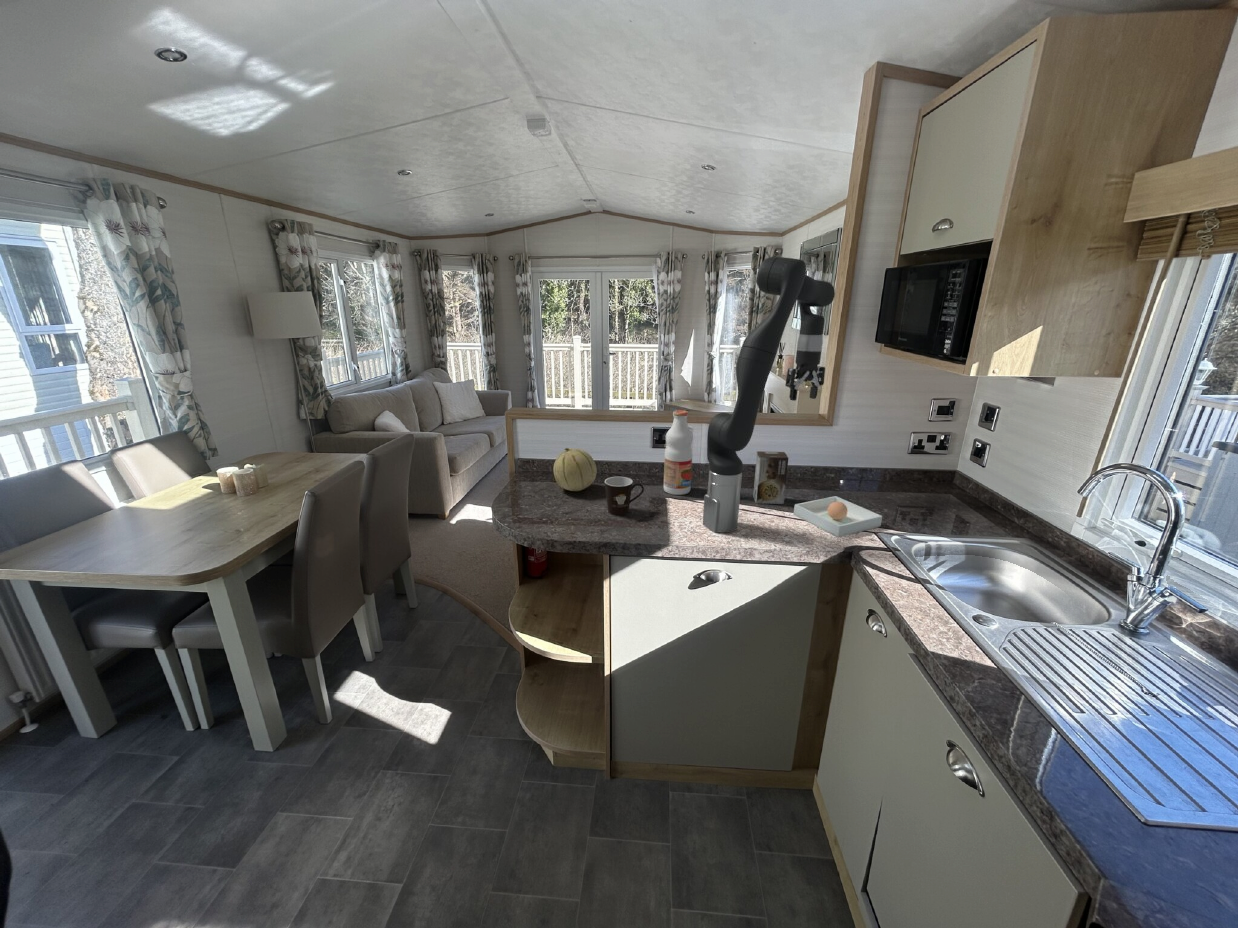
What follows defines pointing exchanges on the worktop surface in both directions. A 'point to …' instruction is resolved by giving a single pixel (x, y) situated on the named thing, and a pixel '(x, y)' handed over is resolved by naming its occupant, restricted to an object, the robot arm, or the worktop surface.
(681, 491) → the fruit juice
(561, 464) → the cantaloupe
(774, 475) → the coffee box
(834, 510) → the terracotta ball
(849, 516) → the tray
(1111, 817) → the worktop surface
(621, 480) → the coffee mug
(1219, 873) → the worktop surface
